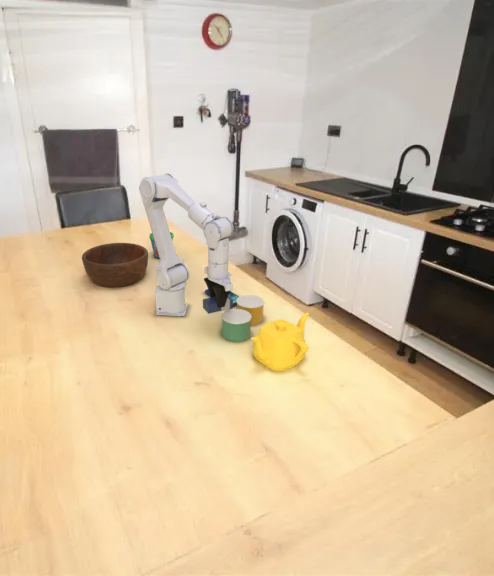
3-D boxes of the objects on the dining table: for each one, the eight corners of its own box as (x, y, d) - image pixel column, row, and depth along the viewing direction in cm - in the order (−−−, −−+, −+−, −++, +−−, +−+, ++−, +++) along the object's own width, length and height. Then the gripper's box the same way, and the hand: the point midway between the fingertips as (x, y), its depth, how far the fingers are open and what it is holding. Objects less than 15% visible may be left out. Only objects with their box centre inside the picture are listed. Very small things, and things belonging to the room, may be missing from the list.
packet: (208, 313, 119) (208, 304, 118) (202, 308, 122) (202, 298, 121) (232, 308, 122) (233, 299, 121) (226, 302, 125) (226, 293, 124)
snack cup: (149, 251, 189) (147, 229, 184) (171, 249, 191) (170, 228, 186) (152, 263, 175) (151, 240, 171) (176, 261, 177) (176, 238, 173)
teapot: (274, 390, 100) (277, 353, 95) (232, 360, 111) (233, 326, 106) (330, 358, 112) (336, 324, 107) (288, 334, 123) (291, 302, 118)
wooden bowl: (71, 284, 155) (67, 259, 151) (109, 262, 176) (106, 239, 172) (127, 295, 147) (125, 269, 142) (160, 270, 168) (159, 246, 163)
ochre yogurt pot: (235, 324, 128) (235, 306, 125) (236, 311, 136) (236, 294, 133) (263, 325, 127) (264, 308, 125) (262, 312, 135) (263, 295, 133)
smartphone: (220, 285, 152) (245, 300, 141) (220, 287, 153) (245, 302, 141) (203, 290, 149) (227, 306, 137) (203, 292, 149) (227, 308, 137)
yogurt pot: (220, 341, 120) (220, 322, 117) (222, 325, 127) (222, 308, 125) (250, 342, 119) (251, 324, 116) (250, 327, 127) (251, 309, 124)
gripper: (243, 267, 111) (241, 311, 117) (219, 250, 123) (219, 291, 129) (219, 271, 108) (219, 316, 114) (198, 254, 120) (198, 295, 126)
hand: (217, 303), depth 121 cm, fingers closed on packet, 4 cm apart
